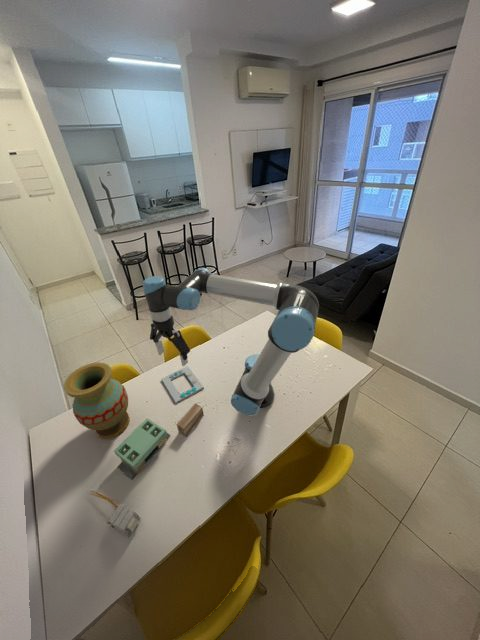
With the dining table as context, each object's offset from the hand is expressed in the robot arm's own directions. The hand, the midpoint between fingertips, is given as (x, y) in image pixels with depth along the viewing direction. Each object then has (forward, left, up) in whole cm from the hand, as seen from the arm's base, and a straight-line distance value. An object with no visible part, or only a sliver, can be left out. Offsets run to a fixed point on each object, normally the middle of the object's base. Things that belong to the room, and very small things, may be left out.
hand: (173, 358), depth 108 cm
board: (-4, +27, -21) cm, 34 cm away
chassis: (-4, +27, -27) cm, 38 cm away
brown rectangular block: (-12, +8, -27) cm, 30 cm away
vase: (+18, +26, -27) cm, 42 cm away
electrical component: (-10, +48, -27) cm, 56 cm away
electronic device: (+7, -7, -28) cm, 29 cm away
